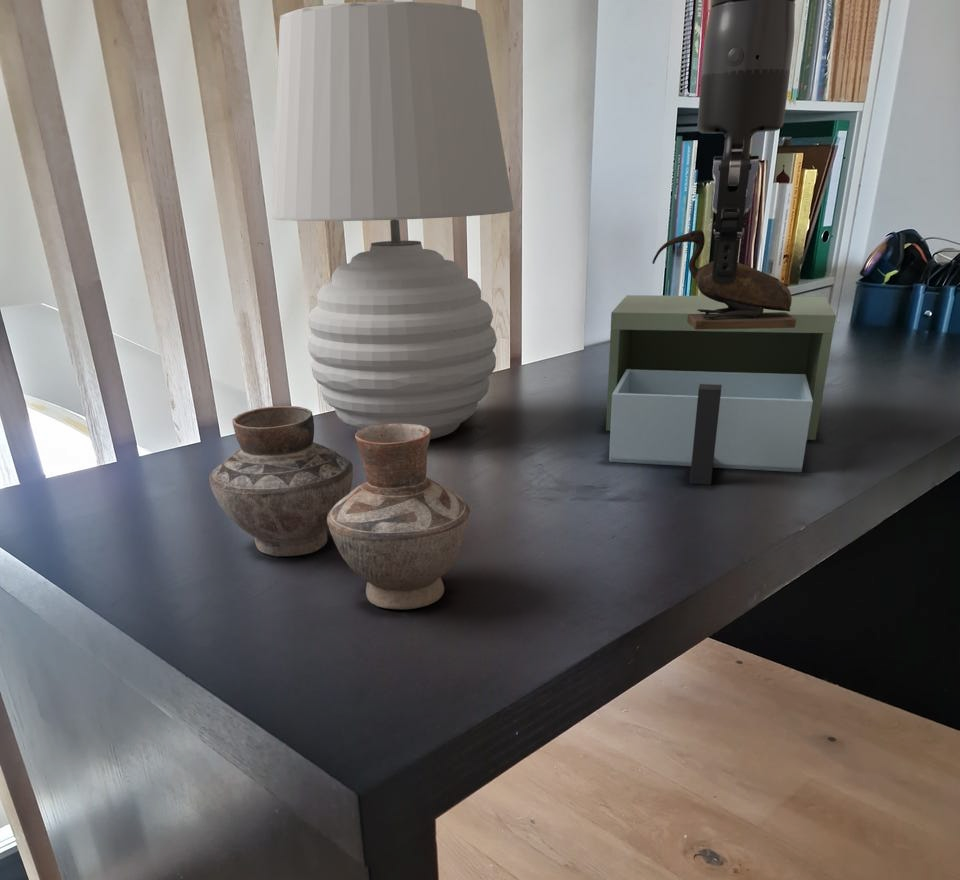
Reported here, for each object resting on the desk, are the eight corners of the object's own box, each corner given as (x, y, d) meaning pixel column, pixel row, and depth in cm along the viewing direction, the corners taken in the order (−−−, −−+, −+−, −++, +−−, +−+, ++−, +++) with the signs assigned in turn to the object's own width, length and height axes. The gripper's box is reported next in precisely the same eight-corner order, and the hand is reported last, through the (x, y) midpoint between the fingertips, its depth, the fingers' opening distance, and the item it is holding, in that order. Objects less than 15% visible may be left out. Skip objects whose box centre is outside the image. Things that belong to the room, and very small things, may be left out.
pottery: (392, 643, 56) (377, 466, 50) (196, 547, 71) (167, 402, 66) (508, 587, 63) (507, 426, 57) (307, 510, 78) (290, 377, 73)
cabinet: (815, 440, 94) (836, 315, 88) (605, 430, 99) (611, 312, 93) (807, 409, 106) (825, 296, 99) (620, 402, 111) (626, 295, 105)
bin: (804, 490, 80) (820, 392, 75) (601, 478, 84) (605, 385, 80) (795, 439, 95) (808, 354, 90) (623, 431, 99) (627, 350, 95)
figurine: (650, 330, 84) (657, 232, 80) (645, 323, 88) (651, 229, 84) (796, 327, 83) (811, 228, 79) (784, 320, 87) (797, 226, 83)
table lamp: (403, 478, 86) (367, -17, 67) (257, 435, 101) (194, 23, 82) (558, 424, 102) (565, 13, 83) (412, 395, 117) (390, 42, 98)
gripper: (794, 58, 68) (765, 289, 76) (787, 73, 80) (762, 271, 88) (697, 64, 70) (679, 288, 78) (704, 78, 82) (688, 271, 90)
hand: (724, 278), depth 83 cm, fingers closed on figurine, 4 cm apart
